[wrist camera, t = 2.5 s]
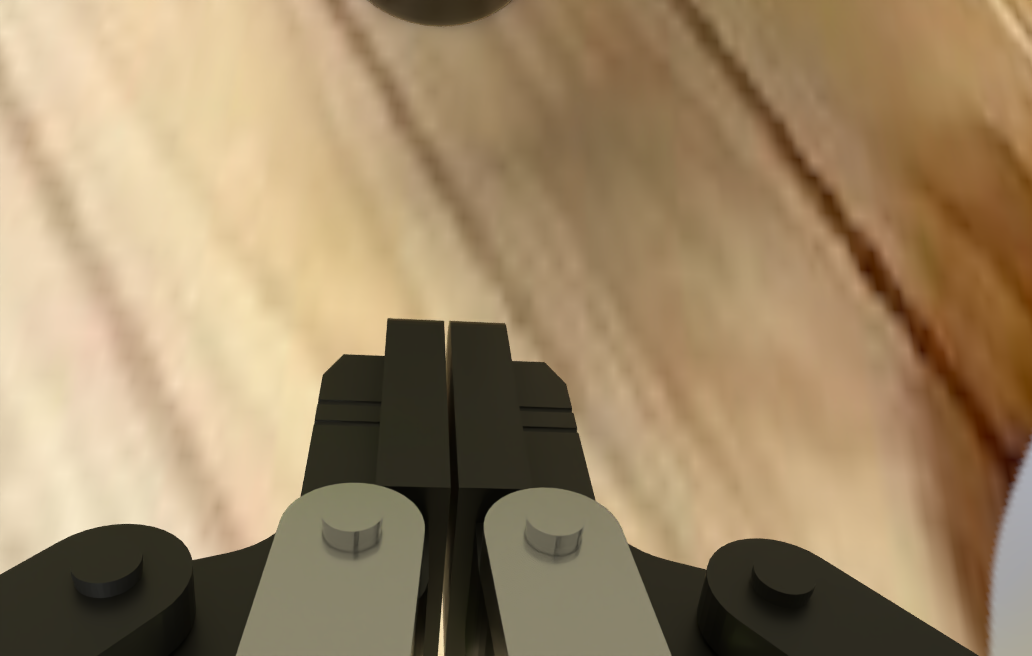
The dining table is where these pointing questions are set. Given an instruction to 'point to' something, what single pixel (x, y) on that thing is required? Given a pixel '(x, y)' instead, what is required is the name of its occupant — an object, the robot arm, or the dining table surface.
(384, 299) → the dining table surface
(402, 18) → the supplement bottle
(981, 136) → the dining table surface
